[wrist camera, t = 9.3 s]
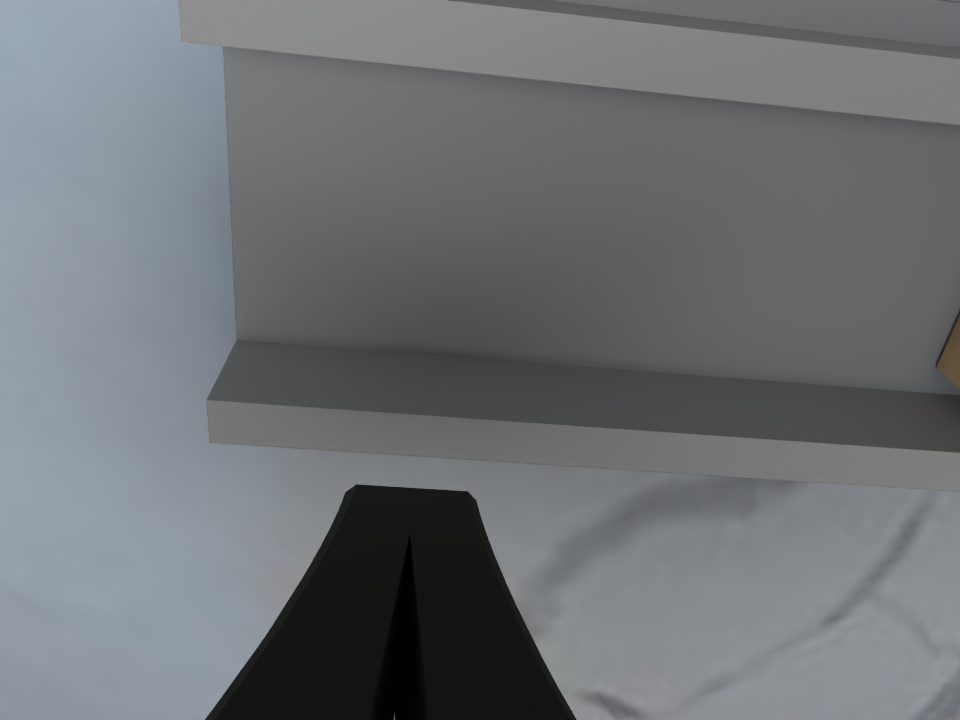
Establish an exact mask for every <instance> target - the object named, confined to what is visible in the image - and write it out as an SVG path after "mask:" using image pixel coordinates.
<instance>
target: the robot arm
mask: <svg viewBox="0 0 960 720" xmlns="http://www.w3.org/2000/svg"><path fill="white" fill-rule="evenodd" d="M394 714H395V720H576V718H575V716H574V714H573V713H572V711H571V709H570V707H569V706H568V704H567V702H566V701H565V699H564V697H563V695H562V694H561V692H560V690H559V688H558V686H557V685H556V683H555V681H554V679H553V677H552V675H551V673H550V672H549V670H548V668H547V666H546V664H545V662H544V660H543V659H542V657H541V655H540V652H539V650H538V648H537V646H536V644H535V642H534V640H533V638H532V636H531V634H530V632H529V630H528V628H527V626H526V624H525V622H524V620H523V618H522V616H521V614H520V612H519V610H518V608H517V606H516V604H515V602H514V599H513V597H512V595H511V593H510V591H509V589H508V586H507V584H506V582H505V579H504V577H503V575H502V572H501V570H500V567H499V565H498V563H497V560H496V558H495V555H494V553H493V550H492V548H491V545H490V542H489V540H488V537H487V534H486V531H485V528H484V525H483V522H482V519H481V516H480V513H479V509H478V505H477V501H476V500H475V499H474V498H473V497H472V495H471V494H470V493H469V492H467V491H451V490H435V489H419V488H403V487H387V486H371V485H355V486H354V487H352V488H351V489H350V490H348V491H347V492H345V495H344V498H343V500H342V503H341V506H340V508H339V511H338V513H337V515H336V517H335V519H334V521H333V524H332V526H331V528H330V530H329V532H328V534H327V535H326V537H325V539H324V541H323V543H322V545H321V547H320V549H319V550H318V552H317V554H316V556H315V557H314V559H313V561H312V563H311V564H310V566H309V568H308V570H307V571H306V573H305V575H304V577H303V578H302V580H301V581H300V583H299V584H298V586H297V588H296V589H295V591H294V592H293V594H292V596H291V597H290V599H289V600H288V602H287V603H286V605H285V607H284V608H283V610H282V611H281V613H280V614H279V616H278V618H277V619H276V621H275V622H274V624H273V626H272V627H271V629H270V630H269V632H268V633H267V635H266V636H265V638H264V639H263V641H262V642H261V643H260V645H259V646H258V648H257V649H256V650H255V652H254V653H253V655H252V656H251V657H250V659H249V660H248V662H247V663H246V664H245V666H244V667H243V668H242V670H241V671H240V673H239V674H238V675H237V677H236V678H235V679H234V681H233V682H232V684H231V685H230V686H229V688H228V689H227V691H226V692H225V693H224V695H223V696H222V697H221V699H220V700H219V702H218V703H217V704H216V706H215V707H214V709H213V710H212V711H211V712H210V714H209V715H208V716H207V718H206V719H205V720H394Z"/></svg>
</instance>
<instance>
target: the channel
mask: <svg viewBox="0 0 960 720" xmlns="http://www.w3.org/2000/svg"><path fill="white" fill-rule="evenodd" d="M178 1H179V15H180V29H181V42H190V43H200V44H209V45H218V46H223V55H224V76H225V98H226V119H227V141H228V162H229V184H230V205H231V227H232V248H233V270H234V291H235V313H236V334H237V341H236V343H235V345H234V347H233V349H232V351H231V353H230V355H229V357H228V359H227V361H226V363H225V365H224V367H223V369H222V371H221V373H220V374H219V376H218V378H217V380H216V382H215V384H214V386H213V388H212V390H211V392H210V394H209V396H208V398H207V413H208V428H209V442H210V443H222V444H238V445H253V446H268V447H283V448H299V449H314V450H329V451H344V452H360V453H375V454H390V455H405V456H421V457H436V458H451V459H466V460H482V461H497V462H512V463H527V464H543V465H558V466H573V467H588V468H604V469H619V470H634V471H649V472H665V473H680V474H695V475H710V476H726V477H741V478H756V479H771V480H787V481H802V482H817V483H832V484H848V485H863V486H878V487H893V488H909V489H924V490H939V491H954V492H960V388H959V387H958V386H957V385H955V384H954V383H953V382H952V381H951V380H950V379H949V378H948V377H947V376H945V375H944V374H943V373H942V372H941V371H940V370H939V369H938V368H937V365H938V363H939V361H940V359H941V356H942V354H943V352H944V350H945V347H946V345H947V343H948V341H949V338H950V336H951V334H952V332H953V329H954V327H955V325H956V323H957V320H958V318H959V316H960V2H955V1H946V0H178Z"/></svg>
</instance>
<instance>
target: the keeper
mask: <svg viewBox="0 0 960 720" xmlns="http://www.w3.org/2000/svg"><path fill="white" fill-rule="evenodd" d="M937 368H938V369H939V370H940V371H941V372H942V373H943V374H944V375H945V376H947V377H948V378H949V379H950V380H951V381H952V382H953V383H954V384H955V385H957V386H958V387H959V388H960V316H959V318H958V320H957V323H956V325H955V327H954V329H953V332H952V334H951V336H950V338H949V341H948V343H947V345H946V347H945V350H944V352H943V354H942V356H941V359H940V361H939V363H938V365H937Z"/></svg>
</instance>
